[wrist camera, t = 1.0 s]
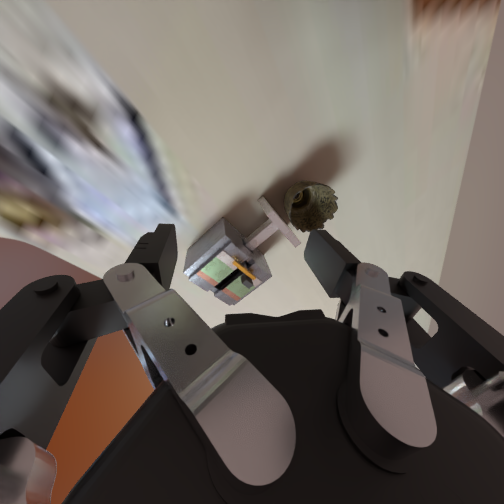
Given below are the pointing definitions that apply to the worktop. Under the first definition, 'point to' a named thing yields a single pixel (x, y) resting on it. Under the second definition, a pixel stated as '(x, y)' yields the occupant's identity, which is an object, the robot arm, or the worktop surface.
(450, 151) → the worktop surface
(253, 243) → the plunger
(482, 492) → the robot arm
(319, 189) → the cup
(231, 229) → the gauge housing
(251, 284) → the block
